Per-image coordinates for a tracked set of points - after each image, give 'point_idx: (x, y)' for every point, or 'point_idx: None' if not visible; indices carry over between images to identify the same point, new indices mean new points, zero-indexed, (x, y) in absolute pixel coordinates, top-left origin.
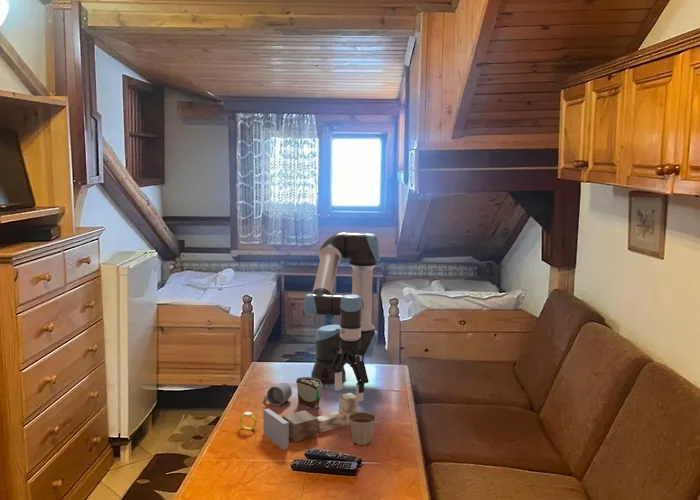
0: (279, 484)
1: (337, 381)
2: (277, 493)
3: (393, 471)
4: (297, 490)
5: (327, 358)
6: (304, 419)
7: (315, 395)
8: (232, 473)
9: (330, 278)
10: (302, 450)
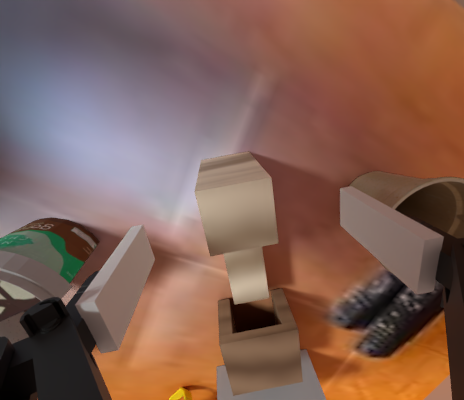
0: (414, 380)
1: (136, 284)
2: (434, 386)
3: None
4: None
5: None
6: (286, 358)
7: (71, 274)
8: None
9: None
10: (329, 329)
